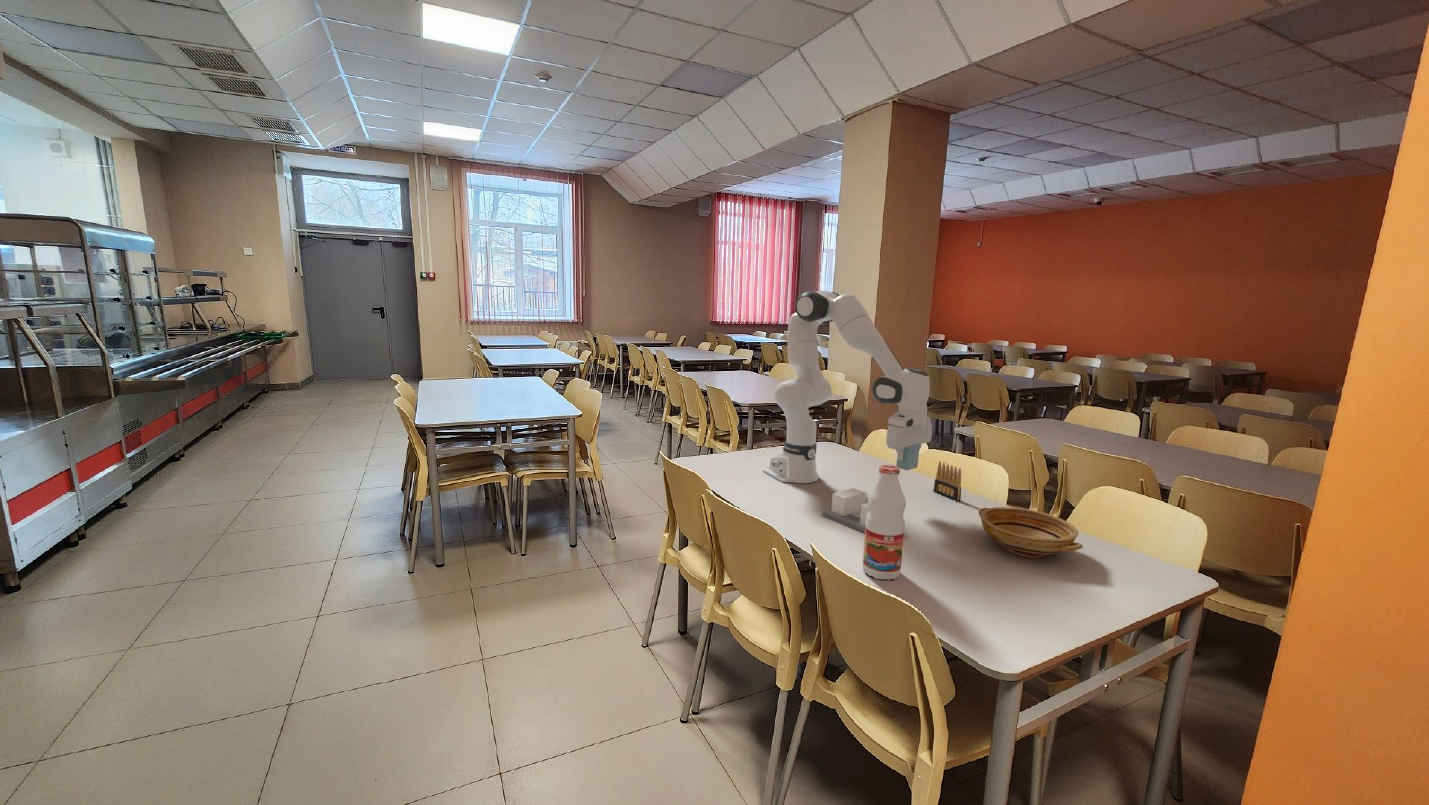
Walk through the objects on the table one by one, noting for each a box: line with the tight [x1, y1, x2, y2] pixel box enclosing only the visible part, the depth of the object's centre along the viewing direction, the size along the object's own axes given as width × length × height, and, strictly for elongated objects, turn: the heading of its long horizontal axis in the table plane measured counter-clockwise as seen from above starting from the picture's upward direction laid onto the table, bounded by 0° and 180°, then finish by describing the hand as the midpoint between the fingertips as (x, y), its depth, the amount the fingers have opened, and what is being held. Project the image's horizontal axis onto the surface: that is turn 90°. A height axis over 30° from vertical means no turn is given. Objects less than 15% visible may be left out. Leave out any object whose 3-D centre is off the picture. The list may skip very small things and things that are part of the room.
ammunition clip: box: [933, 460, 962, 503], centre depth 200 cm, size 11×2×12 cm, turn 25°
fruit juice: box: [862, 464, 907, 581], centre depth 141 cm, size 9×9×28 cm
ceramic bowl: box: [978, 506, 1083, 558], centre depth 159 cm, size 30×24×8 cm
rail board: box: [822, 487, 869, 534], centre depth 177 cm, size 20×14×8 cm
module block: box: [895, 444, 921, 471], centre depth 187 cm, size 4×6×8 cm, turn 126°
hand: (907, 458), depth 187 cm, fingers closed on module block, 6 cm apart
